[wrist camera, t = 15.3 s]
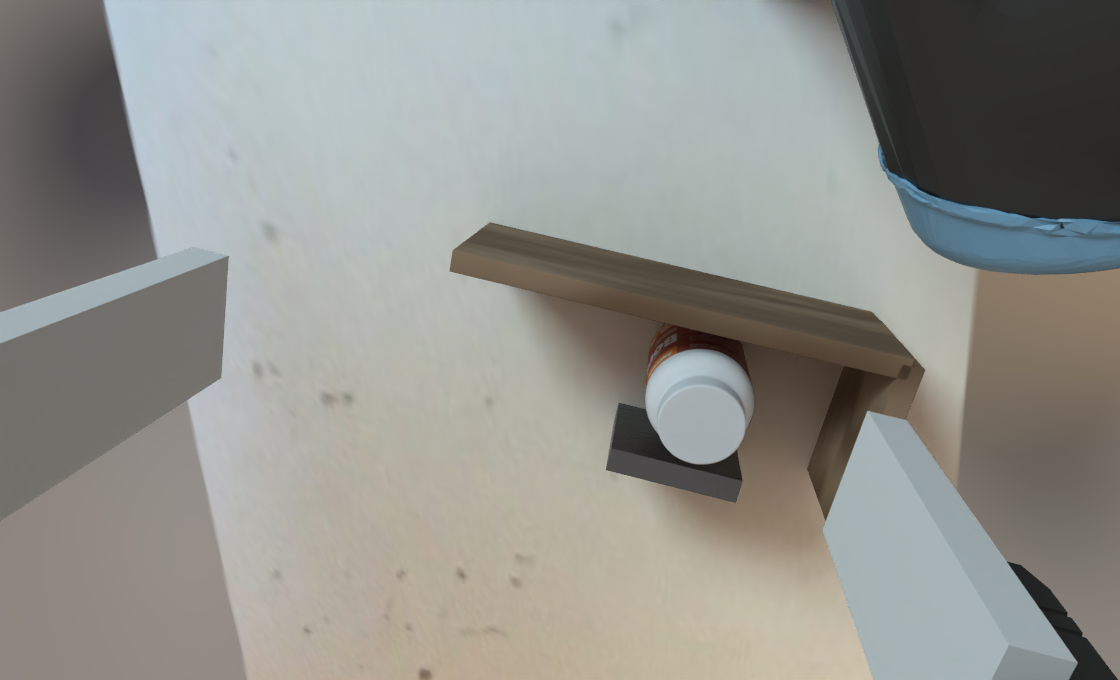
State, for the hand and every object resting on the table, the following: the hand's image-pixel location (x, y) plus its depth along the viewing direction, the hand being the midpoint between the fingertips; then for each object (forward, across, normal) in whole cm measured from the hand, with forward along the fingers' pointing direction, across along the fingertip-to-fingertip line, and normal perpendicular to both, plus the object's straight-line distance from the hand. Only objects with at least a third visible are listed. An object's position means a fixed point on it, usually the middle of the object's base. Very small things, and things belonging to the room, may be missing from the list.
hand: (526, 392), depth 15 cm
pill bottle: (+35, +7, -10) cm, 37 cm away
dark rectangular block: (+35, +7, -15) cm, 39 cm away
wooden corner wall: (+35, +5, -10) cm, 36 cm away
